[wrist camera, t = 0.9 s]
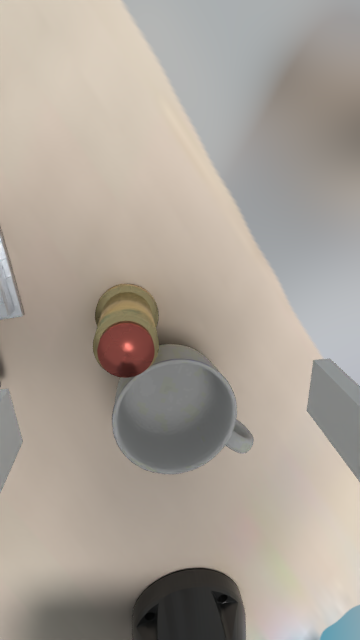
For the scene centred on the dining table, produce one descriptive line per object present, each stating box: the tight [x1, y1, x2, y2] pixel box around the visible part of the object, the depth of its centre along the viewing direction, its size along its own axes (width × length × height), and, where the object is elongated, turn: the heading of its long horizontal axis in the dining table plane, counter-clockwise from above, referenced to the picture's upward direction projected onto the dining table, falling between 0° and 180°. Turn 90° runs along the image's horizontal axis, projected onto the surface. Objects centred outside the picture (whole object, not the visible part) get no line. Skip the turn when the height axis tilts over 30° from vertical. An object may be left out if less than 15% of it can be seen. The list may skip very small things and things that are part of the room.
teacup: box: [112, 344, 254, 474], centre depth 33 cm, size 14×11×8 cm
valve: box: [93, 284, 159, 378], centre depth 29 cm, size 6×6×10 cm
